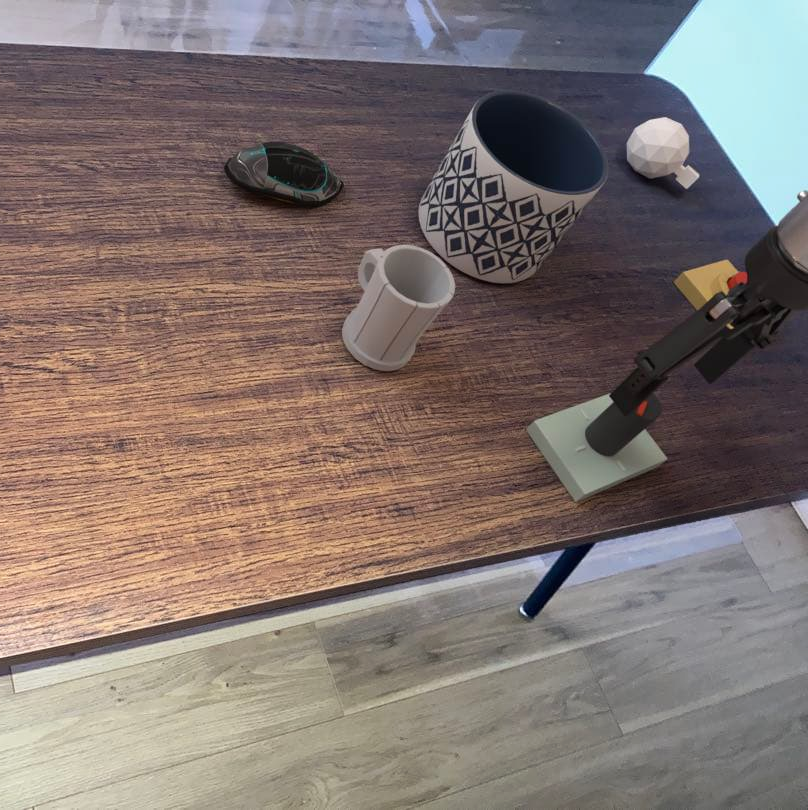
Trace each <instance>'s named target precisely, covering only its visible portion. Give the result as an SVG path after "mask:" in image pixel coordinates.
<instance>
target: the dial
mask: <svg viewBox="0 0 808 810" xmlns="http://www.w3.org/2000/svg"><path fill="white" fill-rule="evenodd" d="M662 412H663V408H662V404H661V401H660V400H659V398H658V397H657V395H655V394H654V393H653V394H651V395H650V396H649V397H648V398H647V399H646V400H645V401H644V402H643V403H642V404H641V405H640V406H639V407H638V408H636V409H635V410H634V411H633V412H632V413H631V414H630V415H628V416H624V415H623V414H622V412H621V411H620V410H619V409H618V407H617V406H616V405H615V403H614V402H613V403H612V404H611V405H610V406H609V407H608V408H607V409H606V410H604V411H603V412H602V413H601V414H600V415H599V416H598V417H597V418H596V419H595V420H594V421H593V422H592V423H591V424H590V425H589V426H588V427H587V428H586V430H585V437H586V440H587V442H588V444H589V445H590V447H591V448H592V449H593V450H595V451H596V452H597V453H599V454H601V455H604V456H613V455H615V454H617V453H618V452H619V451H620V450H621V449H622V448H624V447H625V446H626V445H627V444H628V443H629V442H631V441H632V440H633V439H634V438H635V437H636V436H638V435H639V434H640V433H641V432H642V431H643V430H644V429H646V430H647V428H648V427H649V426H650V425H652V424H653V423H654V422H655V421H656V420H658V419H659V418H660V417H661V415H662Z"/></svg>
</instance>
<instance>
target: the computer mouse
mask: <svg viewBox="0 0 808 810" xmlns="http://www.w3.org/2000/svg"><path fill="white" fill-rule="evenodd" d="M223 170H224V172H225V175H226V176H227V177H228V178H229V180H230V181H231V182H232V184H233V185H234V186H236V187H238V188H241V189H242V190H245V191H247V192H249V193H252V194H256V195H262V196H265V197H268V198H272V199H275V200H279V201H282V202H285V203H289V204H295V205H297V206H300V207H302V208H307V209H308V208H309V209H313V208H317V207H321V206H323V205H325V204H327V203H329V202H331V201H332V200H334V198H336V197H337V196H338V195H340V193H341V192H342V190H343V188H344V187H345V183H344V181H343V180H341V179H339V178H338V176H337V175H336V173H335V172H334V171H333V169H332V168H331V167H330V166H329V164H327V163H325V162H324V161H323V160H322V159H321V158H320V157H319V156H318V155H316V154H315V153H313V152H311V151H309V150H307V149H305V148H303V147H301V146H299V145H296V144H291V143H287V142H281V141H267V142H261V143H258V144H255V145H251V146H246V147H242V148H241V149H239V150H238V151H237V152H235V153H234V154H233V155H232V156H231V157H229V158H228V159H227V160H226V162H225V164H224V165H223Z"/></svg>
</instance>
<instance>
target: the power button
mask: <svg viewBox="0 0 808 810" xmlns="http://www.w3.org/2000/svg"><path fill="white" fill-rule="evenodd" d="M741 282H744V284H745V283H746V282H747V273H746V271H738V273H737V274H736V275H735V276H734V277H732V278H731V279H730V280H729V281H728V284H727V285H728V288H729V290H730V289H731V288H733V287H734V286H736V285H737V284H739V283H741Z"/></svg>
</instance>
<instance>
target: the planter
mask: <svg viewBox="0 0 808 810" xmlns="http://www.w3.org/2000/svg"><path fill="white" fill-rule="evenodd" d="M608 161H609V159H608V157H607V153H606V151H605V149H604V147H603V144H602V143H601V142H600V140H599V139H598V137H597V136H596V135H595V133H594V132H593V131H592V130H591V129H590V128H589V126H588V125H586V124H585V123H584V122H583V121H582V119H580V118H579V117H577V116H576V115H575V114H574V113H572V112H571V111H569V110H568V109H566V108H565V107H563V106H561V105H560V104H558V103H556V102H554V101H552V100H550V99H547V98H545V97H543V96H540V95H537V94H534V93H531V92H526V91H521V90H511V89H503V90H495V91H491V92H489V93H487V94H485V95H483V96H482V97H480V98H479V99H478V100H477V101H476V102H475V104H474V105H473V107H472V108H471V110H470V112H469V114H468V115H467V117H466V118H465V121H464V122H463V124H462V126H461V128H460V129H459V131H458V133H457V134H456V137H455V138H454V140H453V142H452V143H451V145H450V147H449V149H448V150H447V152H446V154H445V156H444V158H443V159H442V161H441V163H440V165H439V167H438V168H437V170H436V172H435V174H434V175H433V178H432V179H431V181H430V182H429V184H428V187H427V188H426V190H425V191H424V193H423V195H422V197H421V200H420V203H419V204H418V211H417V212H418V221H419V225H420V228H421V231H422V232H423V235H424V237H425V239H426V240H427V242H428V243H429V245H430V246H431V247H432V249H434V251H435V252H436V253H437V254H438V255H439V256H440V257H441V258H442V259H443V260H444V261H446V262H447V263H448V264H450V265H451V266H452V267H454V268H455V269H457V270H458V271H460V272H461V273H464V274H466V275H468V276H470V277H473V278H475V279H478V280H481V281H484V282H489V283H493V284H495V283H496V284H513V283H518V282H522V281H525V280H526V279H529V278H530V277H532V276H533V275H534V274H535V273H536V272H537V271H538V270H539V269H540V267H541V266H542V265H543V263H544V262H545V261H546V260H547V258H548V257H549V256H550V255H551V253H552V252H553V251H554V249H555V248H556V247H557V246H558V244H559V243H560V242H561V241H562V239H563V238H564V236H566V234H567V232H568V231H569V230H570V229H571V228H572V227H573V226H574V224H575V222H576V221H577V219H578V218H580V216H581V214H582V213H583V212H584V210H585V209H586V208H587V207H588V206H589V204H590V203H591V201H592V200H593V199H594V198H595V196H596V195H597V193H598V192H599V191H600V189H601V188H603V187H602V186H603V185H604V184H605V182H606V180H607V178H608V174H609V162H608Z"/></svg>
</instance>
